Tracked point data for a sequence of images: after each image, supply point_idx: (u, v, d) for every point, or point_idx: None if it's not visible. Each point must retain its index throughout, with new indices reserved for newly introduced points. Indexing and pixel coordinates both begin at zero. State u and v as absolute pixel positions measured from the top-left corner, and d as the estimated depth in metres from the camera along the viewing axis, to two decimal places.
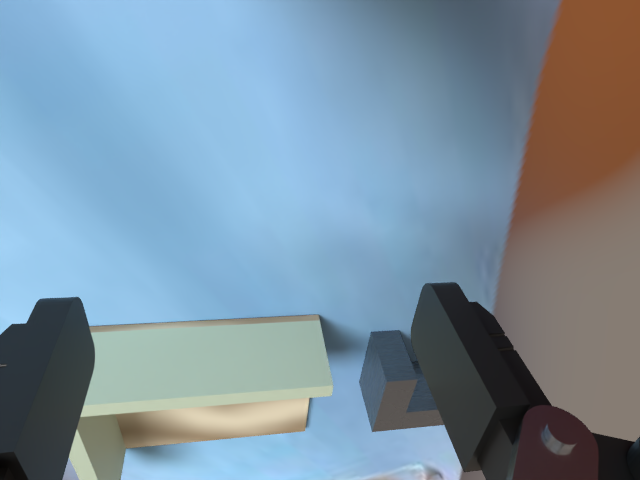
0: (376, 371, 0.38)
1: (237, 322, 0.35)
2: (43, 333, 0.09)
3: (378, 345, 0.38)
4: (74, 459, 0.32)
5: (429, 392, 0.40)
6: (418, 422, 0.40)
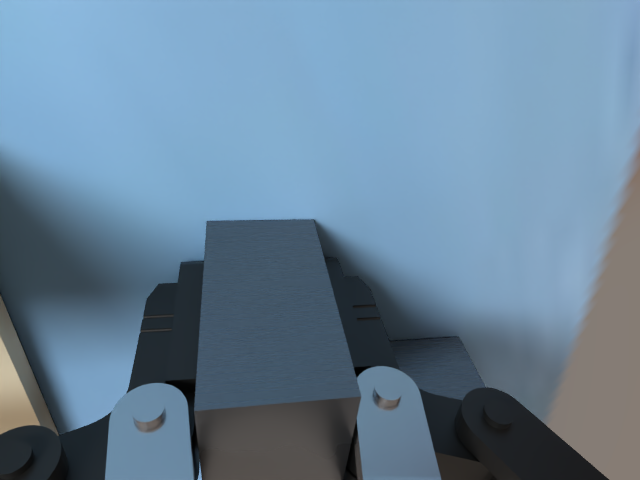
0: None
1: None
2: (195, 289, 0.10)
3: (217, 258, 0.10)
4: None
5: None
6: None
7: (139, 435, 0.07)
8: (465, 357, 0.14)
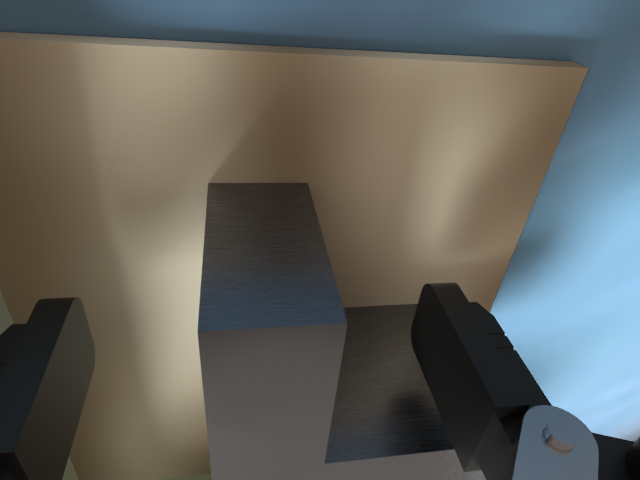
0: None
1: None
2: (43, 333, 0.09)
3: (218, 213, 0.10)
4: None
5: (412, 391, 0.12)
6: None
7: None
8: None
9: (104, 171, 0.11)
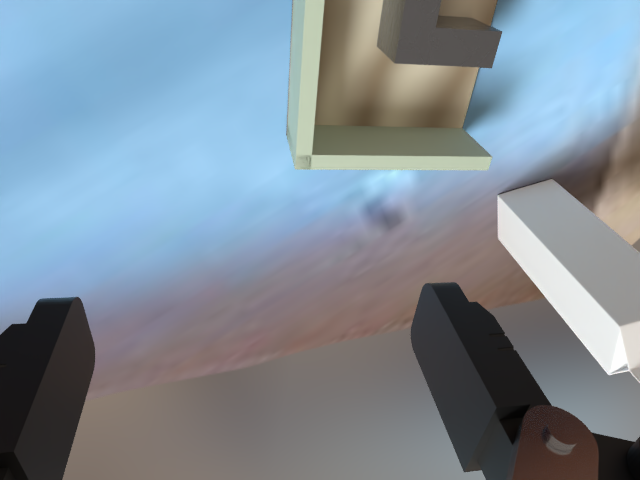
0: None
1: None
2: (43, 333, 0.09)
3: None
4: (374, 166, 0.36)
5: (462, 24, 0.34)
6: (450, 54, 0.33)
7: None
8: (475, 19, 0.36)
9: None
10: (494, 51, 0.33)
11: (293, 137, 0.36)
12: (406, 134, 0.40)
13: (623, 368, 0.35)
